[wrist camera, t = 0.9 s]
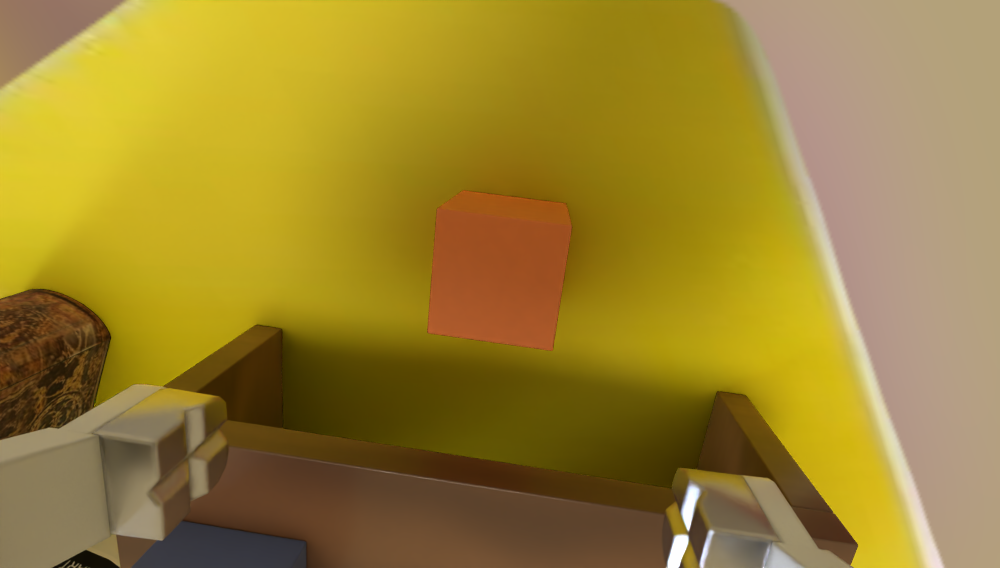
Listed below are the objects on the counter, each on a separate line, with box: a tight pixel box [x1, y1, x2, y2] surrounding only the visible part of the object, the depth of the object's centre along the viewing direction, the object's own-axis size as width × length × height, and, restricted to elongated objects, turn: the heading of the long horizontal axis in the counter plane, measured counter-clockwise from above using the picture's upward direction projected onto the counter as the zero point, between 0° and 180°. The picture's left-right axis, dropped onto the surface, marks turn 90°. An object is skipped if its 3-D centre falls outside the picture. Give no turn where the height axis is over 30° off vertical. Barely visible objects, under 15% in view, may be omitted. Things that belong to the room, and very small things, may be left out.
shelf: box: [116, 325, 858, 568], centre depth 24 cm, size 12×26×10 cm, turn 84°
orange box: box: [427, 190, 572, 351], centre depth 22 cm, size 5×5×6 cm
